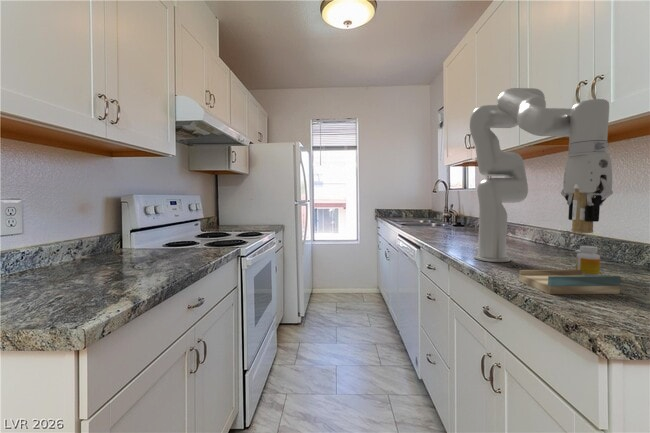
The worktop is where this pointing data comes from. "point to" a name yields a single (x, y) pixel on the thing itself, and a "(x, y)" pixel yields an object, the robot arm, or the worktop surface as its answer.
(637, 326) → the worktop surface
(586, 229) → the sprinkles bottle
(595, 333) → the worktop surface
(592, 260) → the supplement bottle
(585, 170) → the robot arm
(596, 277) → the shelf board
